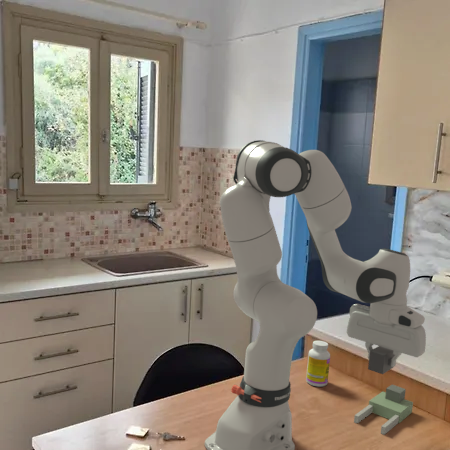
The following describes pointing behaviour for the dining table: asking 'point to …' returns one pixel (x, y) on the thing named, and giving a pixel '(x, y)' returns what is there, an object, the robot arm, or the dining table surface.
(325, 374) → the supplement bottle
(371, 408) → the two-prong power plug
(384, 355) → the grey rectangular block
